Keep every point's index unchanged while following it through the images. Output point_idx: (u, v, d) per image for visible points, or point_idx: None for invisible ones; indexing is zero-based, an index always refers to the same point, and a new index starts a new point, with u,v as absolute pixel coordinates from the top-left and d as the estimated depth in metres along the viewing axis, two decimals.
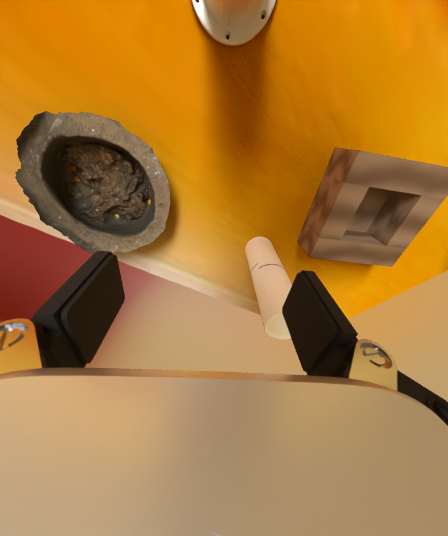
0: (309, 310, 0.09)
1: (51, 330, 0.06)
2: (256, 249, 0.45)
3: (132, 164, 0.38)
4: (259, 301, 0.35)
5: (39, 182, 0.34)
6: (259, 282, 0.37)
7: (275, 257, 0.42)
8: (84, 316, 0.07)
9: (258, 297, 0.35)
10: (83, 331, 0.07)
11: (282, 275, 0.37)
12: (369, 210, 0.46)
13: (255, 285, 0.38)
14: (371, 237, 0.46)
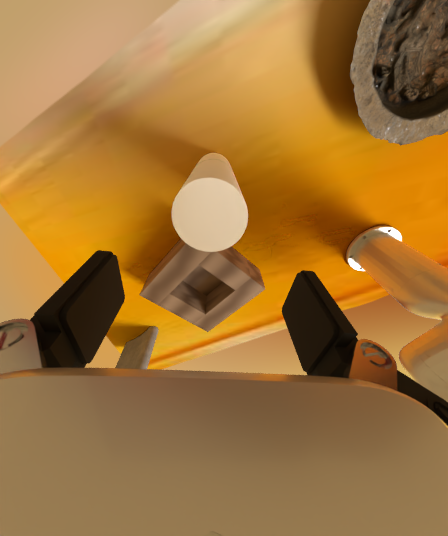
0: (309, 310, 0.09)
1: (51, 330, 0.06)
2: None
3: (406, 101, 0.32)
4: (233, 178, 0.21)
5: None
6: None
7: None
8: (84, 316, 0.07)
9: (234, 178, 0.22)
10: (83, 331, 0.07)
11: None
12: (196, 280, 0.53)
13: (230, 171, 0.25)
14: None
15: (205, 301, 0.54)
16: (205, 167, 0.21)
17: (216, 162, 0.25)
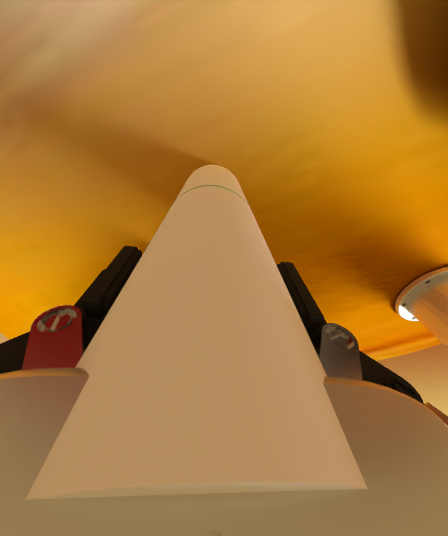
0: None
1: (93, 316, 0.07)
2: None
3: None
4: (272, 272, 0.07)
5: None
6: None
7: None
8: None
9: (272, 262, 0.08)
10: None
11: None
12: None
13: (253, 224, 0.10)
14: None
15: None
16: (188, 235, 0.07)
17: (219, 200, 0.11)
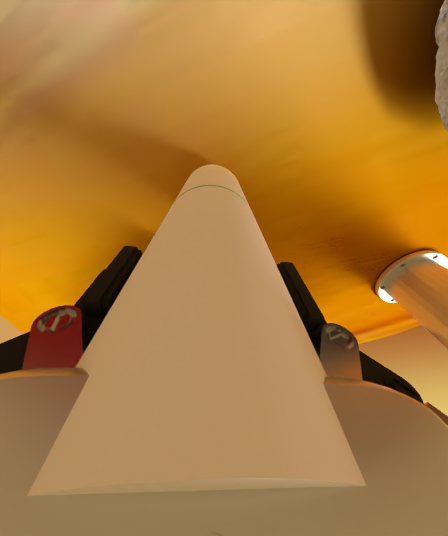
0: None
1: (93, 316, 0.07)
2: None
3: None
4: (272, 271, 0.07)
5: None
6: None
7: None
8: None
9: (271, 262, 0.08)
10: None
11: None
12: None
13: (253, 224, 0.10)
14: None
15: None
16: (188, 235, 0.07)
17: (219, 200, 0.11)
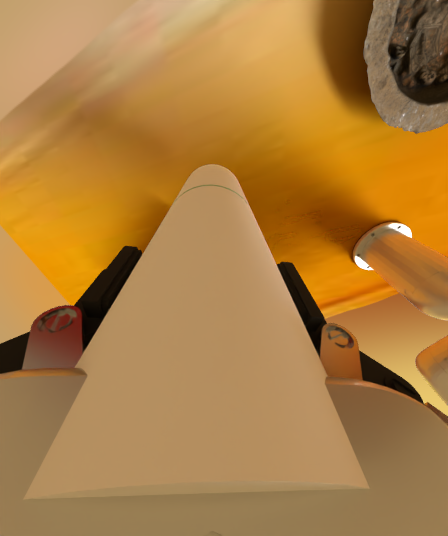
0: None
1: (93, 316, 0.07)
2: None
3: (422, 85, 0.29)
4: (272, 271, 0.07)
5: None
6: None
7: None
8: None
9: (271, 262, 0.08)
10: None
11: None
12: None
13: (253, 224, 0.10)
14: None
15: None
16: (188, 235, 0.07)
17: (219, 199, 0.11)
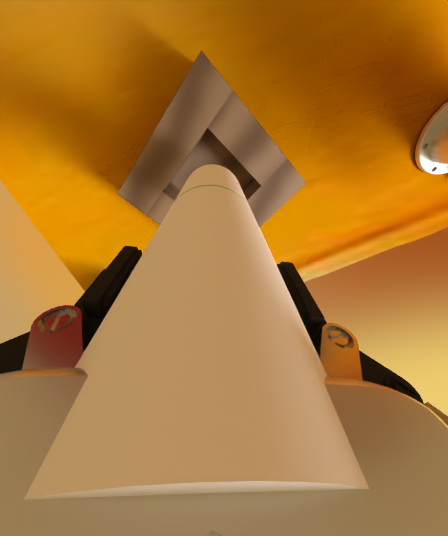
0: None
1: (93, 316, 0.07)
2: None
3: None
4: (272, 271, 0.07)
5: None
6: None
7: None
8: None
9: (272, 262, 0.08)
10: None
11: None
12: None
13: (253, 224, 0.10)
14: (169, 182, 0.34)
15: None
16: (188, 235, 0.07)
17: (219, 199, 0.11)
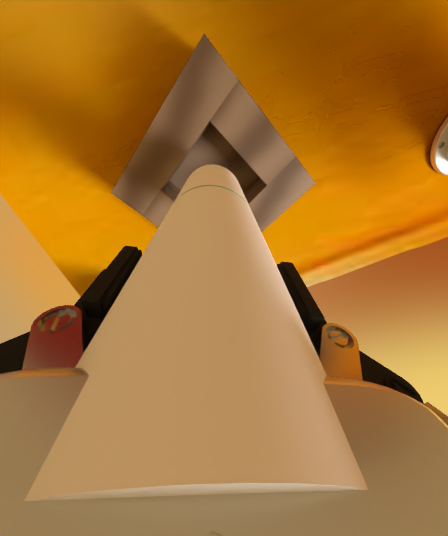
0: None
1: (94, 316, 0.07)
2: None
3: None
4: (272, 272, 0.07)
5: None
6: None
7: None
8: None
9: (271, 262, 0.08)
10: None
11: None
12: None
13: (253, 224, 0.10)
14: (168, 181, 0.31)
15: None
16: (188, 235, 0.07)
17: (219, 200, 0.11)
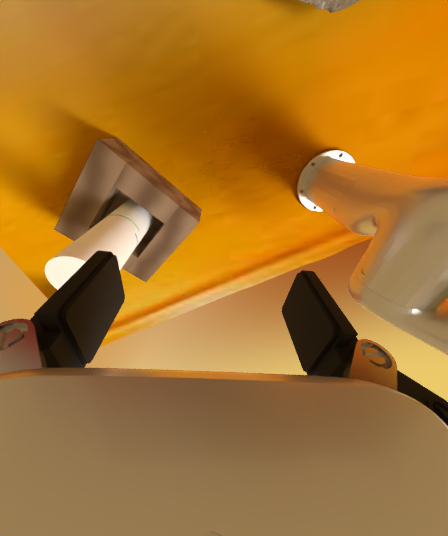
0: (309, 310, 0.09)
1: (51, 330, 0.06)
2: (147, 224, 0.41)
3: None
4: (106, 243, 0.28)
5: None
6: (125, 239, 0.32)
7: None
8: (84, 316, 0.07)
9: (111, 241, 0.29)
10: (83, 331, 0.07)
11: None
12: None
13: (119, 230, 0.31)
14: (99, 218, 0.43)
15: (142, 247, 0.48)
16: (87, 234, 0.28)
17: (109, 222, 0.32)
